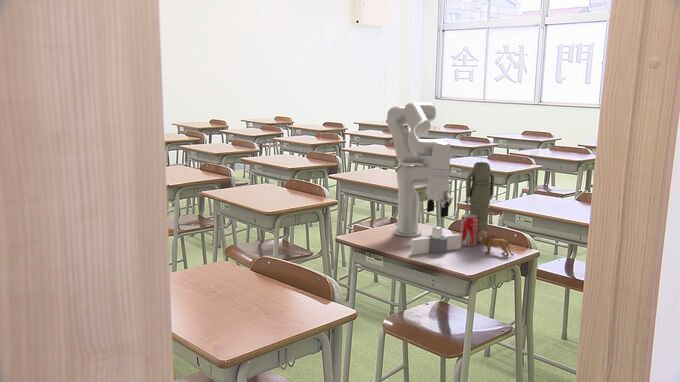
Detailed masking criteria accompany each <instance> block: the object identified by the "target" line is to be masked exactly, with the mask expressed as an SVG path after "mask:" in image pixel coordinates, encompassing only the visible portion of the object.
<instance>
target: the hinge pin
mask: <svg viewBox="0 0 680 382" xmlns="http://www.w3.org/2000/svg"><path fill="white" fill-rule="evenodd" d="M431 228H432V229H431V235H432V238H435V239H442V235H443V227H442V226H435V225H434V226H432V227H431Z"/></svg>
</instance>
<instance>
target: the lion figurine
mask: <svg viewBox="0 0 680 382" xmlns="http://www.w3.org/2000/svg"><path fill="white" fill-rule="evenodd" d="M478 239H479V241H480V242H481V243H483V244H482V245H483V246H484V247H486V252H485V254H486V255H489V254H490V253H491V251H492V249H491V248H492V247H493V248H501V250H502V251H503V252H501V253H500V254H501V255H504V256H505V257H506V258H509V254H510V256H515V255H514V254H513V253H512V251H511V248H510V244H509V242H508V241H507V239H504V238H495V236H494V235H492V234H491V233H489V232H488V233H487V232H485V231H481V232H479V236H478ZM505 257H504V258H505Z"/></svg>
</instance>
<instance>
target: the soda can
mask: <svg viewBox="0 0 680 382" xmlns="http://www.w3.org/2000/svg"><path fill="white" fill-rule="evenodd" d="M460 218H461V219H460V229H459V231H460V232H459V234H461V246H462V247H468V248H469V247H475V246H476V245H478V244H477V228H478V219H477V216H476V215H473V214H470V213H464V214H462V217H460Z"/></svg>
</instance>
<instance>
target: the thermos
mask: <svg viewBox="0 0 680 382" xmlns="http://www.w3.org/2000/svg"><path fill="white" fill-rule="evenodd" d="M466 183H467V185H466V186H467V187H466V197H467V198H469V199H468V200H469V201H468V202H469V203H470V204H469V214H473V215H476V216H477V219H478V228H477V244H476V245H483V243H481V242H480V241H479V239H478V236H479V232H481V231H485V232H487V233H489V229H490V228H489V225H488V224H489V223H488V222H489V208H490V207H489V205H490V203H491V198H492V197H494V191H495V176H494V174H493V173H491V167H490V163H488V162H486V161H477V162H475V163H474V165H473V167H472V171H471V172H470V173H469V174H468V175H467V181H466Z"/></svg>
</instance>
